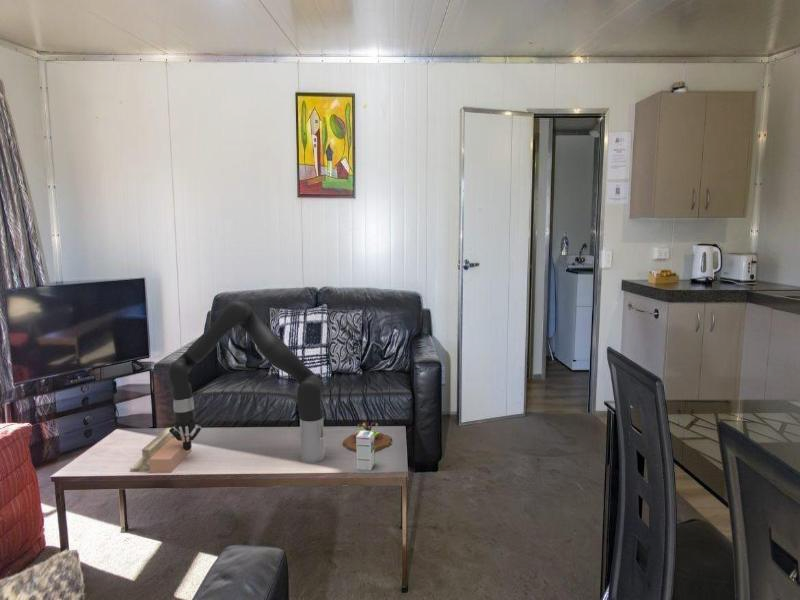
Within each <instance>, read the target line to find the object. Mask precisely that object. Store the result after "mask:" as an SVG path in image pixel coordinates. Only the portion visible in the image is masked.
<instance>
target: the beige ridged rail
mask: <svg viewBox="0 0 800 600" xmlns="http://www.w3.org/2000/svg"><path fill="white" fill-rule="evenodd" d="M171 428H172V427H166V428H165V429H164V430H163V431H161V432H160V433H159V434H158V435H157V436H156V437H155V438H153V439H152V440H151V441H150V442H149V443H148V444H147V445H146V446H144V447H143V448H142V449H141V451H142V452H141V453H142V456H141V458H140V459H139V460H138V461H137V462H135V464H133V465H132V466H131V467H129V471H130V472H131V473H137V472H139V473H142V472H143V473H145V472H146V473H147V472H148V471H149V472H148V473H150V466H149V459H150V458H151V457H152V456H153V455H154V454H155V453H156V452H157V451H158V450H160V449H161V448H162V447H163V446H164V445H165V444H166V443H167V442H168V441H169V440H170V439H171V438H175V437H174V436H173V435H172V434H171V433H170V432H169V430H170V429H171Z"/></svg>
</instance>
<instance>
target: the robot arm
mask: <svg viewBox="0 0 800 600" xmlns="http://www.w3.org/2000/svg"><path fill="white" fill-rule="evenodd" d="M236 326H239V327H240V328H241V329H242V330H244V331H245V332H246V333H247V334H248V335H249V336H250V337H251V339H252V340H253V342H254V344H255V346H256V348H257V349H258V351H259V352H260V353H261V355H262V356H263V357H264V358H265V359H266V360H267V361H268V363H270V364H271V365H272V366H273V367H275V368H277V369H278V370H280V371H282V372H284V373H285V374H288V375H289V376H290V377H291V378H293V380H294V381H295V382H296V383H297V384H298V387H297V390H296V391H297V392H296V396H297V397H296V400H297V412H298V414H299V429H300V430H299V432H300V433H299V434H300V436H299V439H300V460H301V462H304V463H307V462H308V463H307V464H312V463H313V462H314V463H319V462H324V459H325V454H326V452H325V450H326V447H325V433H324V411H323V409H322V408H321V396H322V395H323V394H324V392H325V389H326V388H325V383H324V381H323V379H321V377H320V376H318V375H317V374H316V373H315V372H313V371H312V370H311V369H310V368H309V367H308V366H306V364H304V363H303V362H302V360H300V358H299V357H297V355H296V354H295V353H294V352H293V350H291V349H290V347H288V346H287V345H286V343H285V342H284V341H283V340H282V339H281V338H280V337H279V336H278V335H277V334H276V333H275V332H274V331H273V330H272V329H270V328H269V327H268V326H267V325H266V324H265V323H264V322H263V321H262V320H261V319H260V317H259V316H258V315H257V313H256V312H255V311H254V309H253V308H252V306H250V304H249V303H247V302H245V301H241V300H234V301H231V302H229V303H228V304H227V305H226V306H225V308H224V309H223V310H222V312H221V313H220V314H219V316H218V317H217V318H216V319H215V321H214V322H213V323H212V324H211V325H210V326H209V328H207V330H205V331H204V332H203V333H202V334H201V335H200V336H199V337H198V338H197V339H196V340H194V342H193V343H192V344H191V345H190V346H189V347H188V348H187V349H186V351H185V352H183V354H181V355H180V356H179V357H178V358H177V359H176V360H174V361H173V362H172V363H171V364H170V366H169V367H168V368H169V369H168V377H169V378H168V379H169V381H170V385H171V388H172V397H173V399H172V400H173V402H172V403H173V407H172V409H173V414H174V415H173V417H174V424H173V425H174V426H172V427H170V428H171V429H170V430H169V432H170V433H171V434H172V435H173V436H174V437H175V438H176V439H177V440H178V441H182V442H183V448H184V449H185V451H189V450H190V449H191V450H192V447H193V445H192V444H193V443H192V441H193V440H195V439H196V438H197V436H198V435H199V433H200V432H201V430H202V429H203V426H202V425H199V424H198V423H197V421H196V413H195V403H194V397H193V387H192V384H191V382H189V373H190V372H191V371H192V370H193V369H194V368H195V367H196V366H197V365H198V363H200V362H201V361H203V360H204V359H205V358H206V357H207V356H208V355H209V354H211V352H212V351H213V350H214V349H215V348H216V346H217V345H218V343H219V342H220V340H221V339H222V338H223V337H224V336H225V335H226V334H227V333H228V332H229V331H231V330H232V329H233V328H235V327H236ZM193 430H194V431H195V432H194V433H193ZM318 461H319V462H318ZM314 463H313V464H314Z"/></svg>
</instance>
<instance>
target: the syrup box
mask: <svg viewBox="0 0 800 600" xmlns="http://www.w3.org/2000/svg"><path fill="white" fill-rule="evenodd" d="M374 432H375V431H374ZM374 432H373V431H363V430H360V432H359V433H358V432H357V433H358V435H357V436H356V447H357V452H356V469H357V470H363V471H372V469H373V468H374V466H375V465H376V463H375V461H376V458H375V457H376V456H375V454H376V452H375V449H374Z"/></svg>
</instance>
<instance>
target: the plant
mask: <svg viewBox="0 0 800 600" xmlns="http://www.w3.org/2000/svg"><path fill="white" fill-rule="evenodd" d="M373 425H374V426H375V427H377V426H378V425H379V424H378V423H377V422H375V421H373V422H371V424H370V425H369V423H368V422H367V421H364V422H363V423H358V424H357V426H358V427H359V428H360V427H363V429H362V431H373V432H374V449H375V453H376V452H378V451H379V452H380V451H382V450H383V449H385V448H386V449H387V448H390V447H389V446H391V445H392V442H393V438H392V436H390V435H388V434H384V433H381V432H379V431H375V429H372V428H373ZM360 431H361V430H359V429H357V431H356V433H352V434H350V435H349V436H348V437H346V438H345V439H344V440H343V441H342V446H343V447H344V448H345V449H346V450H348V451H351V452H353V453H357V447H356V436H357V435H358V433H359V432H360Z"/></svg>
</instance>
